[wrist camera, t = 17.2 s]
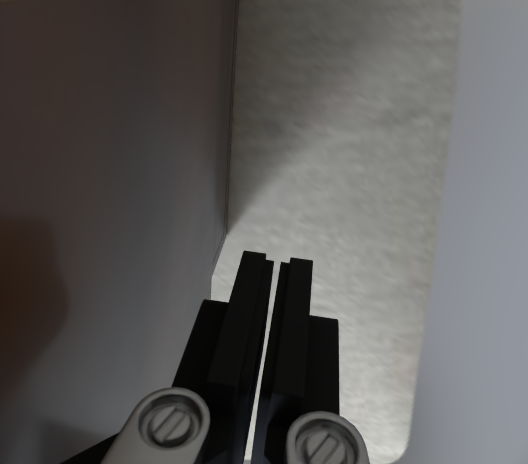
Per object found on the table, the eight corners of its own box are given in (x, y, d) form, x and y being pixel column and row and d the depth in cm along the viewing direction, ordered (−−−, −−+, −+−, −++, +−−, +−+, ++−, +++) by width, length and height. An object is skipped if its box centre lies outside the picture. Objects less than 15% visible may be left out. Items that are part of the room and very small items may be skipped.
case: (-59, 196, 27) (-128, 242, 23) (-148, -88, 20) (-270, -94, 16) (226, 237, 26) (206, 292, 22) (241, -46, 19) (216, -41, 15)
